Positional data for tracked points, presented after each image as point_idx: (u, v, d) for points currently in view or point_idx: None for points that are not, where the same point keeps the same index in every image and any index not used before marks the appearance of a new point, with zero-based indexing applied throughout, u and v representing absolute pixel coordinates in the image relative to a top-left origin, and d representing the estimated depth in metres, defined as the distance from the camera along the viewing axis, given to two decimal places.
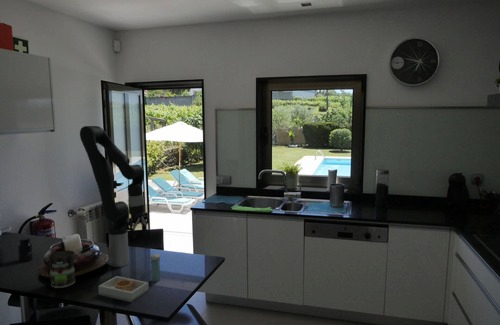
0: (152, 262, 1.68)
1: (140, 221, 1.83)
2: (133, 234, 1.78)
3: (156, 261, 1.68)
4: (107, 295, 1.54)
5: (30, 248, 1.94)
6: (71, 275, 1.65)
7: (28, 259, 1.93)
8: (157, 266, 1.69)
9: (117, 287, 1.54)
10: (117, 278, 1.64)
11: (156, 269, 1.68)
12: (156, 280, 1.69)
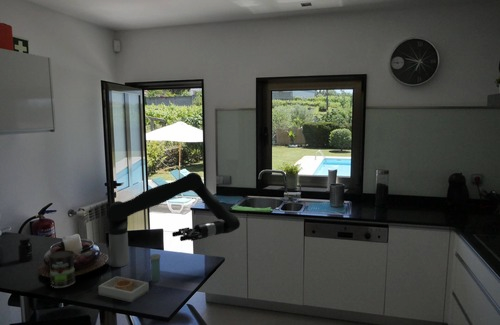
0: (152, 262, 1.68)
1: None
2: (184, 239, 1.73)
3: (156, 261, 1.68)
4: (107, 295, 1.54)
5: (30, 248, 1.94)
6: (71, 275, 1.65)
7: (28, 259, 1.93)
8: (157, 266, 1.69)
9: (117, 287, 1.54)
10: (117, 278, 1.64)
11: (156, 269, 1.68)
12: (156, 280, 1.69)
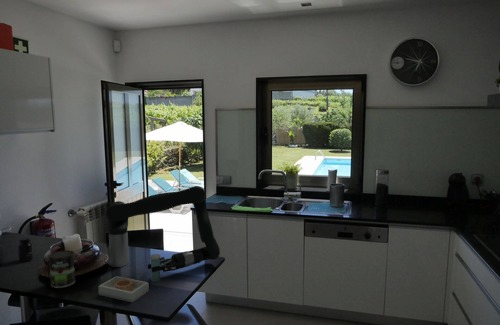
0: (152, 262, 1.68)
1: None
2: None
3: (156, 261, 1.68)
4: (107, 295, 1.54)
5: (30, 248, 1.94)
6: (71, 275, 1.65)
7: (28, 259, 1.93)
8: None
9: (117, 287, 1.54)
10: (117, 278, 1.64)
11: None
12: (156, 280, 1.69)
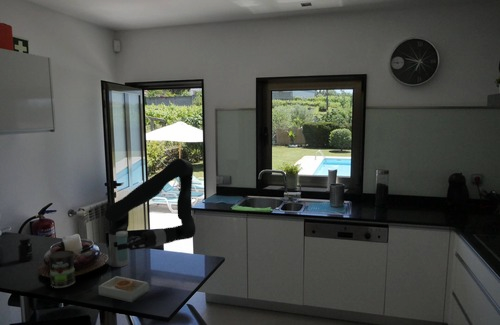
0: (118, 239, 1.53)
1: None
2: (122, 248, 1.53)
3: (123, 238, 1.53)
4: (107, 295, 1.54)
5: (30, 248, 1.94)
6: (71, 275, 1.65)
7: (28, 259, 1.93)
8: None
9: (117, 287, 1.54)
10: (117, 278, 1.64)
11: None
12: (123, 259, 1.54)
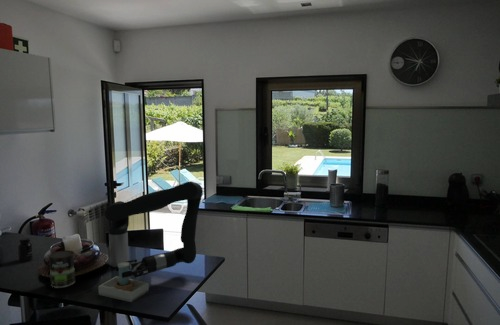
0: (120, 271, 1.55)
1: None
2: None
3: (124, 270, 1.55)
4: (107, 295, 1.54)
5: (30, 248, 1.94)
6: (71, 275, 1.65)
7: (28, 259, 1.93)
8: None
9: (117, 287, 1.54)
10: (117, 278, 1.64)
11: (124, 278, 1.56)
12: None
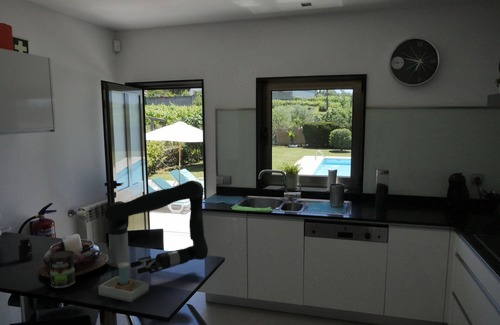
0: (120, 271, 1.55)
1: None
2: (142, 272, 1.57)
3: (124, 270, 1.55)
4: (107, 295, 1.54)
5: (30, 248, 1.94)
6: (71, 275, 1.65)
7: (28, 259, 1.93)
8: (125, 275, 1.56)
9: (117, 287, 1.54)
10: (117, 278, 1.64)
11: (124, 279, 1.55)
12: None
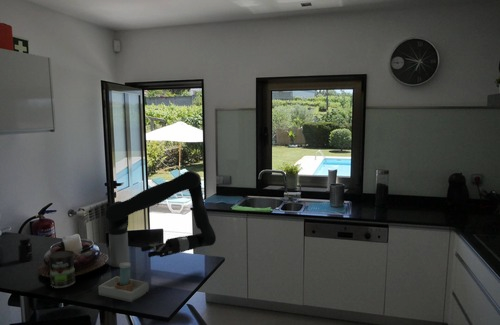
0: (121, 271, 1.55)
1: None
2: (153, 255, 1.62)
3: (125, 270, 1.55)
4: (107, 295, 1.54)
5: (30, 248, 1.94)
6: (71, 275, 1.65)
7: (28, 259, 1.93)
8: (126, 275, 1.56)
9: (117, 287, 1.54)
10: (117, 278, 1.64)
11: (125, 279, 1.55)
12: None
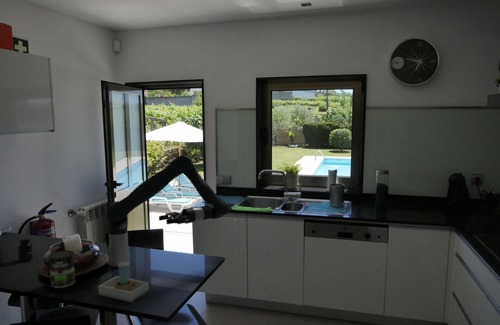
0: (120, 270, 1.56)
1: None
2: (171, 223, 1.70)
3: (124, 269, 1.56)
4: (107, 295, 1.54)
5: (30, 248, 1.94)
6: (71, 275, 1.65)
7: (28, 259, 1.93)
8: (125, 275, 1.56)
9: (117, 287, 1.54)
10: (117, 278, 1.64)
11: (124, 278, 1.56)
12: None
